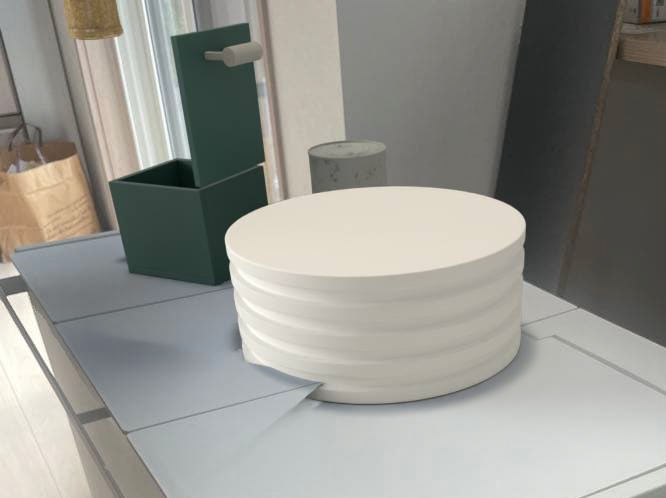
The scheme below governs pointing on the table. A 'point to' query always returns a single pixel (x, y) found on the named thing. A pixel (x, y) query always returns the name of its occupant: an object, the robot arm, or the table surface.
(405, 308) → the plate stack
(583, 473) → the table surface
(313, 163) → the speckled concrete cylinder
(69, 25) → the sprinkles bottle
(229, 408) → the table surface
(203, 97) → the lid
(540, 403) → the table surface
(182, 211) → the chest
